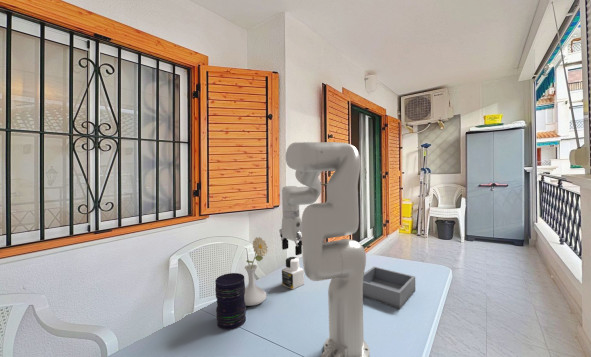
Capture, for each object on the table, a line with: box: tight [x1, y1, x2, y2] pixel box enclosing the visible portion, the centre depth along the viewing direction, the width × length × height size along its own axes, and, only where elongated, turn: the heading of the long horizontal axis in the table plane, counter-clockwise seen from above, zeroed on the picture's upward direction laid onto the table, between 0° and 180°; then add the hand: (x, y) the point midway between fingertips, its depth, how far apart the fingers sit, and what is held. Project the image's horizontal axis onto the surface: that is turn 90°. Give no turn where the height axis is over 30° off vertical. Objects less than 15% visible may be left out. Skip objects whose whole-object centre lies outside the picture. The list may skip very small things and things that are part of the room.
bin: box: [363, 266, 416, 310], centre depth 106 cm, size 18×18×6 cm
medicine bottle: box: [281, 256, 305, 290], centre depth 115 cm, size 7×7×12 cm
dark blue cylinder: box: [214, 272, 247, 331], centre depth 89 cm, size 10×10×15 cm
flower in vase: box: [244, 236, 269, 307], centre depth 102 cm, size 13×11×25 cm
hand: (291, 251), depth 116 cm, fingers open, 9 cm apart
